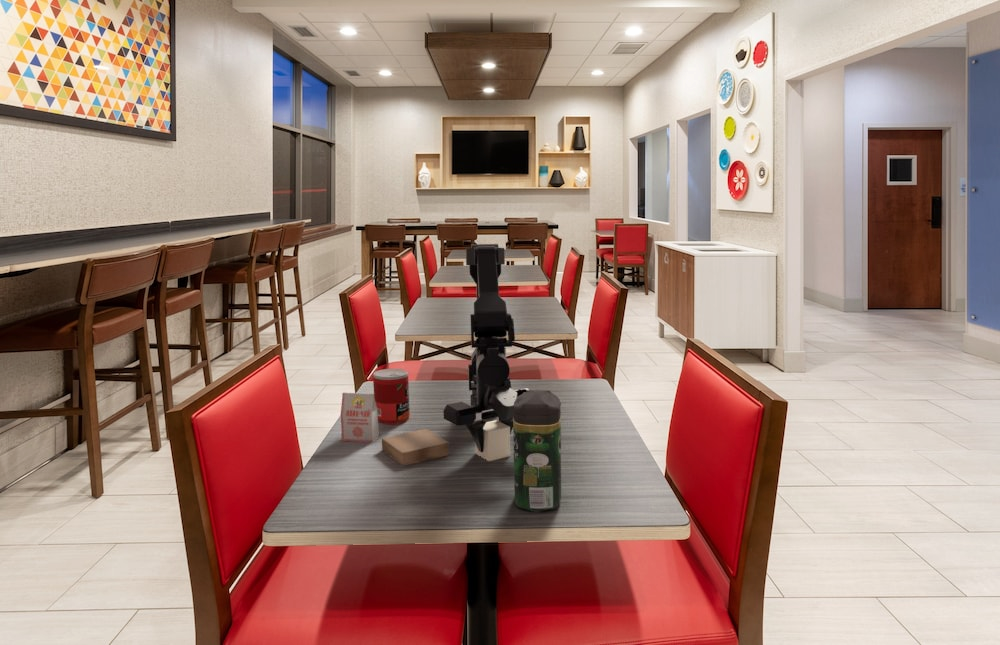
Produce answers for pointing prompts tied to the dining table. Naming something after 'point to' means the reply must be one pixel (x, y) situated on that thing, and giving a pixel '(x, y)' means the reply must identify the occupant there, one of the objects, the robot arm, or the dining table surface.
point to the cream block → (495, 441)
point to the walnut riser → (415, 446)
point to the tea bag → (359, 417)
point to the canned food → (391, 395)
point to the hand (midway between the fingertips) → (492, 448)
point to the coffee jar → (537, 450)
